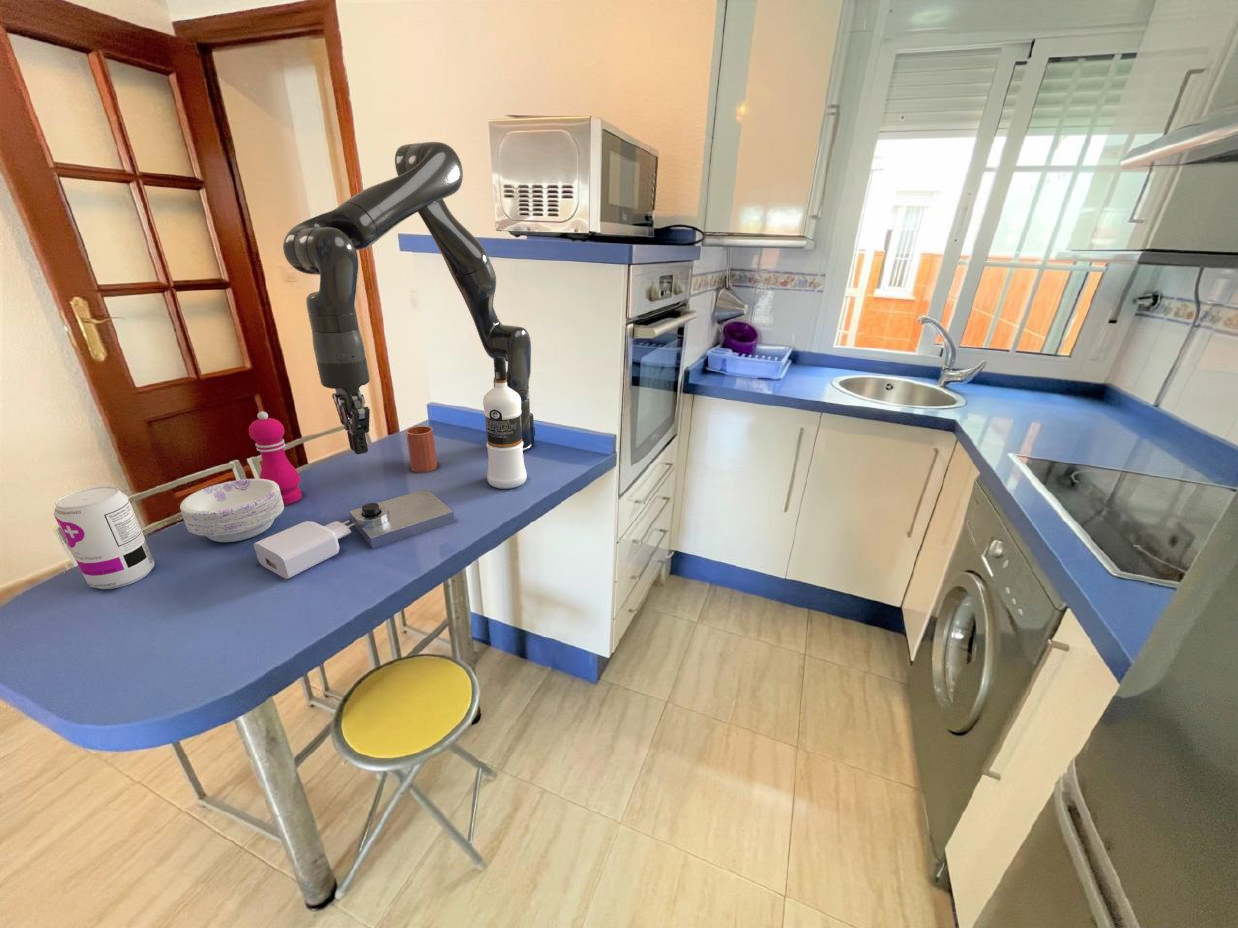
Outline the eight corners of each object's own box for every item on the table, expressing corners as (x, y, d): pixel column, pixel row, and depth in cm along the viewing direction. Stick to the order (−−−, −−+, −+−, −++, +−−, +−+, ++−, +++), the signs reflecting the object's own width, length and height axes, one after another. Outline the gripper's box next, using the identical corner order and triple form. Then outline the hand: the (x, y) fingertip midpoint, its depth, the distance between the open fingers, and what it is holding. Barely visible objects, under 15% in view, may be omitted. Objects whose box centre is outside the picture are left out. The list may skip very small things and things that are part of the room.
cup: (431, 460, 130) (426, 424, 126) (441, 468, 126) (436, 431, 122) (407, 466, 126) (402, 429, 122) (417, 474, 122) (411, 436, 118)
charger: (369, 540, 96) (289, 581, 84) (339, 526, 100) (259, 564, 88) (365, 518, 94) (282, 557, 82) (335, 505, 98) (251, 541, 86)
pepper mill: (311, 493, 112) (290, 407, 104) (289, 508, 105) (265, 418, 97) (281, 490, 113) (258, 405, 104) (257, 506, 106) (230, 416, 98)
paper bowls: (258, 504, 107) (248, 470, 103) (305, 522, 101) (296, 487, 98) (174, 538, 94) (160, 500, 91) (222, 560, 88) (208, 521, 85)
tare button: (377, 509, 99) (375, 501, 99) (382, 514, 97) (381, 507, 97) (361, 513, 97) (359, 505, 97) (366, 519, 95) (364, 511, 95)
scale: (428, 498, 112) (426, 482, 110) (454, 521, 103) (452, 504, 101) (348, 522, 101) (344, 504, 100) (370, 550, 93) (366, 531, 91)
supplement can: (99, 598, 78) (59, 514, 72) (82, 579, 82) (42, 499, 76) (164, 572, 85) (132, 493, 79) (144, 556, 89) (112, 480, 83)
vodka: (534, 477, 123) (529, 355, 111) (513, 493, 115) (505, 363, 103) (501, 471, 126) (493, 351, 114) (479, 486, 118) (468, 358, 106)
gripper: (378, 361, 83) (394, 457, 90) (352, 347, 92) (368, 436, 99) (328, 367, 78) (348, 468, 85) (306, 352, 87) (326, 444, 94)
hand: (359, 450), depth 92 cm, fingers closed
